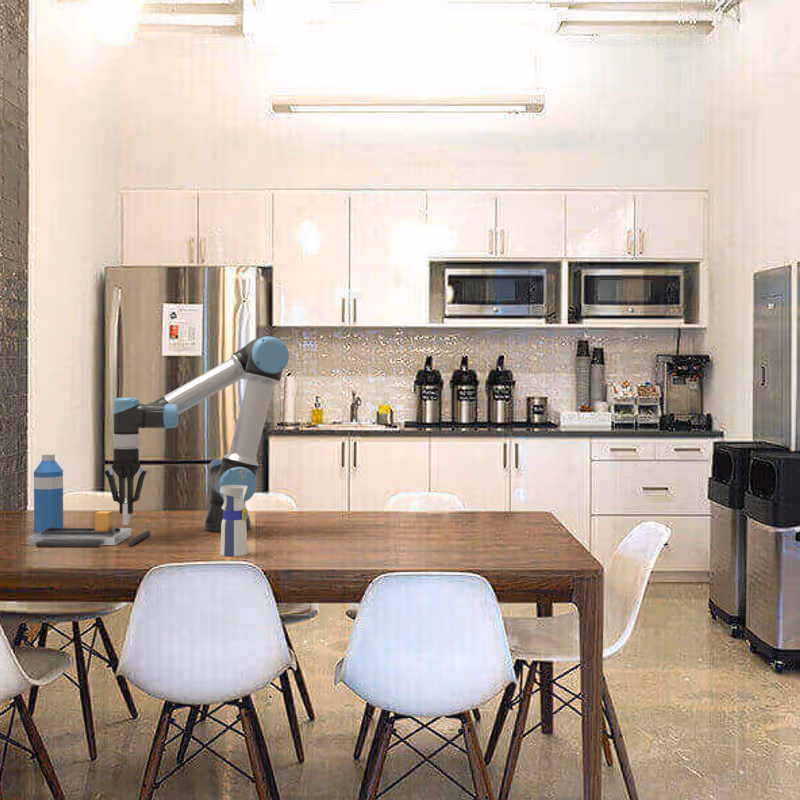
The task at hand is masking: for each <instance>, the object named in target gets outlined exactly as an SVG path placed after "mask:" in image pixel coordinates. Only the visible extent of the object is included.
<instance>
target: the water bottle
mask: <svg viewBox="0 0 800 800" xmlns="http://www.w3.org/2000/svg"><path fill="white" fill-rule="evenodd" d="M33 519H34V520H33V531H34V533H39V532H41V531H43V530H45V529H47V528H49V527H54V528H64V470H63V469H62V467H61V466H60V465H59V463H58V461H56V454H55V453H43V454H41V461H40V462H39V464H38V465H37V466H36V468H35V470H34V471H33Z"/></svg>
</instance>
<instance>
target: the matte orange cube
mask: <svg viewBox="0 0 800 800" xmlns="http://www.w3.org/2000/svg"><path fill="white" fill-rule="evenodd" d="M113 516H114V512H113V510H99V511H97V512H95V513H94V528H95V531H108V530H109V529H111V528H113V527H114V526H113V525H114V523H113V522H114V517H113Z"/></svg>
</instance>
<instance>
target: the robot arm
mask: <svg viewBox="0 0 800 800" xmlns="http://www.w3.org/2000/svg"><path fill="white" fill-rule="evenodd" d="M289 352H290V351H289V349H288V347H287V344H286V343H285V342H284V341H282V340H281V339H279V338H277V337H274V336H270V335H267V336H266V335H265V336H262V337H258V338H254V339H253V340H251V341H250V342H248V343H247V344H246V345H244V346H243V347H241V348H240V349H239V350H236V351H235V352H233V353H231V355H230V358H229V359H228V360H226V361H224V362H221V363H219V365H217V366H215V367H214V368H211V369H209V370H208V371H206V372H204V373H203V374H201V375H199V376H197V377H195V378H193V379H192V380H190V381H188V382H187V383H185V384H183V385H181V386H178V388H176V389H174V390H172V391H171V392H169V393H167V394H165V395H163V396H161V397H160V398H158V399H156V400H154V401H153V402H148V403H146V404H144V403H140V400H139V398H138V397H117V398H115V399H114V402H113V412H112V414H113V415H112V416H113V447H114V449H113V463H112V464H111V468H109V469H107V470H105V471H104V474H105V476H106V477H107V480H108V485H109V487H110V492H111V497H112V500H113V502H117V503H118V505H119V514H120V515H122V526H128V525H129V524H131V514H133V512H134V503H135V502H137V501H140V497H141V493H142V489H143V485H144V481H145V477H146V476H147V475H148V470H147V469H144V468H142V467H141V464H140V453H139V452H140V449H139V448H138V447H139V446H140V444H139V443H140V431H139V430H140V429H172V428H173V429H174V428H175V429H176V428H177V427H178V425H179V422H180V421H179V420H180V418H179V417H180V414H181V413H183V412H185V411H187V410H189V409H190V408H192V407H194V406H196V405H198V404H200V403H201V402H203V401H205V400H207V399H208V398H210V397H212V396H213V395H215V394H217V393H219V392H221V391H222V390H224V389H226V388H227V387H230V386H231V385H233V384H235V383H236V382H239V381H240V380H247V382H246V385H245V389H244V393H243V397H242V400H241V405H240V408H239V413H238V417H237V420H236V424H235V428H234V433H233V436H232V439H231V444H230V447H229V448H230V449H229V452H228V453H226V454H225V455H224V456H223V457H222V459H214V460H211V461H210V463H209V468H208V469H209V470H208V471H209V508H208V511H207V513H206V516H205V517H206V518H205V520H204V530H205V531H208V532H217V533H221V523H222V520H223V509H222V508H221V507H222V506H223V503H224V497H223V494H222V493H220V488H221V486H226V485H244V486H247V487H248V495H247V497H246V495H245V496H244V504H245V505H246V502H247V501H249V500H250V499H251V498H252V497H253V496H254V495H255V492H257V491H256V490H257V484H258V483H257V474H258V470H259V465H260V464H259V463H258V460H257V459H256V458H257V455H258V450H259V445H260V442H261V438H262V434H263V430H264V426H265V423H266V419H267V415H268V410H269V406H270V403H271V399H272V394H273V390H274V387H275V386H276V385H278V384H279V383H281V378H282V374H283V370H285V368H286V367H287V365H288V364H289V358H290V354H289ZM243 468H244V471H248V472H247V473H246V478H242V479H241V474H240V473H239V472H241V471H242V469H243ZM114 474H116V476H117V477H118V487H117V483H116V480H115V479H116V478H115V476H114ZM137 474H138V475H139V476H138V478H137V483H136V487H135V490H134V480H135V476H136V475H137ZM126 482H127V483H126ZM126 484H127V486H126ZM126 487H127V491H126ZM126 493H127V501H126ZM251 523H252V522H251V519H250V516H249V514H248V516H247V519H246V527H247V530H250V529H251V528H252V527H251V526H252V525H251Z"/></svg>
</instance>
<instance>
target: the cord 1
mask: <svg viewBox="0 0 800 800" xmlns="http://www.w3.org/2000/svg"><path fill="white" fill-rule="evenodd" d="M35 546H36V547H38V548H100V547H101V546H100V542H56V541H38V542H36V545H35ZM99 546H100V547H99Z"/></svg>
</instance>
